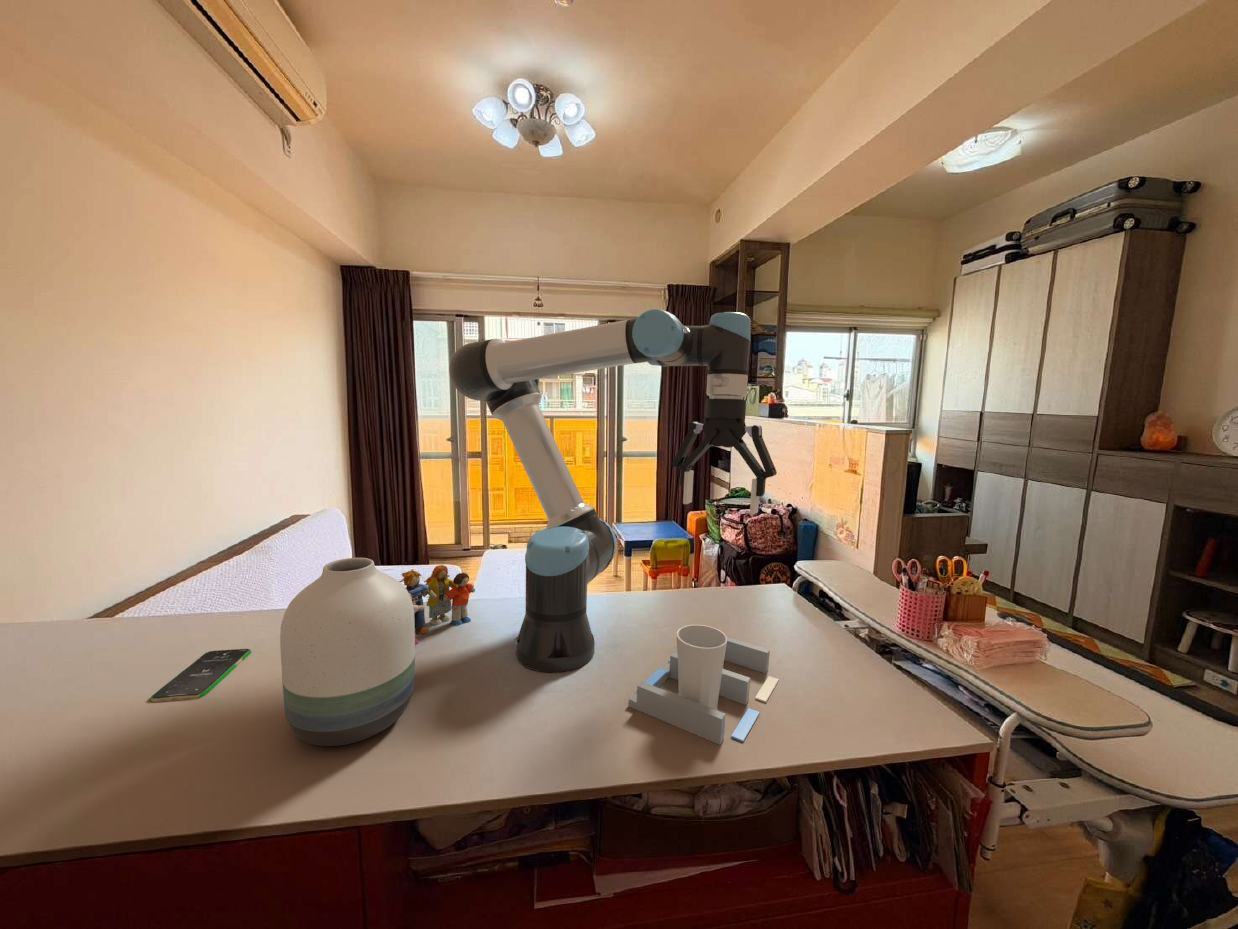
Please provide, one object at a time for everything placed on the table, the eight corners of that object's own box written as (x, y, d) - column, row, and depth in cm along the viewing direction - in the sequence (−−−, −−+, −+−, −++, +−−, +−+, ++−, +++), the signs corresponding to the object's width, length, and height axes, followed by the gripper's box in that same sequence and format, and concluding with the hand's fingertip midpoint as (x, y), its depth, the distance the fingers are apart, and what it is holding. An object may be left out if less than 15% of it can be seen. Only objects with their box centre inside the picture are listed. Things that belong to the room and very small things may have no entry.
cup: (722, 726, 73) (727, 651, 72) (670, 717, 75) (674, 644, 73) (722, 695, 81) (726, 627, 80) (674, 688, 83) (678, 621, 81)
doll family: (391, 657, 90) (389, 589, 88) (362, 643, 95) (360, 578, 93) (479, 617, 107) (479, 560, 106) (451, 606, 112) (450, 552, 111)
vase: (325, 781, 60) (317, 597, 57) (262, 729, 69) (253, 567, 66) (439, 711, 75) (437, 561, 72) (375, 676, 83) (371, 541, 80)
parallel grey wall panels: (628, 706, 77) (629, 682, 77) (691, 645, 98) (692, 626, 97) (737, 752, 68) (739, 726, 67) (782, 674, 88) (783, 653, 88)
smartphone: (145, 699, 74) (207, 650, 89) (145, 705, 74) (207, 655, 89) (202, 694, 76) (253, 647, 90) (202, 700, 76) (253, 652, 90)
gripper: (658, 396, 95) (654, 501, 98) (788, 398, 82) (779, 521, 84) (675, 397, 101) (670, 496, 104) (798, 400, 88) (789, 514, 90)
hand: (719, 508), depth 94 cm, fingers open, 13 cm apart
